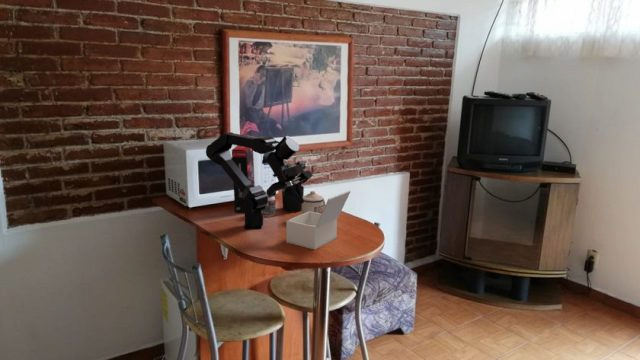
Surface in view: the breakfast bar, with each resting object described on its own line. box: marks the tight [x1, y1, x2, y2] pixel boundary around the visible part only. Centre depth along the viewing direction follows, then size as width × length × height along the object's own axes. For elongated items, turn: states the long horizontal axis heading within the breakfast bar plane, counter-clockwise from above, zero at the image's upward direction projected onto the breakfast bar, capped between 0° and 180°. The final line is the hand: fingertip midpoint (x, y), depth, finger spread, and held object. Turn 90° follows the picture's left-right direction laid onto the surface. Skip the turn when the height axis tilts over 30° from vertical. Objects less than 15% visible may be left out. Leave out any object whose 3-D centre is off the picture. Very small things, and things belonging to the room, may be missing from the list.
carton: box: [285, 211, 338, 251], centre depth 169 cm, size 12×14×8 cm
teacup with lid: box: [301, 190, 326, 214], centre depth 194 cm, size 12×9×12 cm
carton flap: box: [316, 189, 351, 228], centre depth 163 cm, size 12×14×1 cm
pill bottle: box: [262, 190, 277, 218], centre depth 198 cm, size 6×6×10 cm
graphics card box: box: [231, 145, 256, 214], centre depth 207 cm, size 17×7×27 cm, turn 179°
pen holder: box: [281, 185, 305, 213], centre depth 207 cm, size 9×9×10 cm
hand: (302, 203), depth 169 cm, fingers closed
